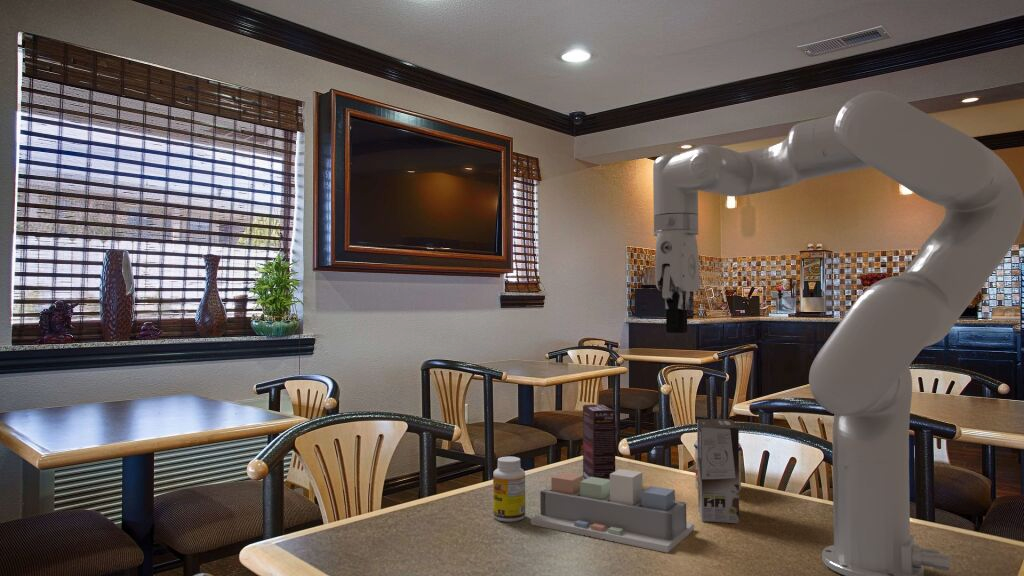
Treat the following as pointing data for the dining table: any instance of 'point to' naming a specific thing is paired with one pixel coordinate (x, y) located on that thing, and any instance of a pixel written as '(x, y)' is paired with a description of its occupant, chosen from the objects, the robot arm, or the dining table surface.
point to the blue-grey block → (658, 498)
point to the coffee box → (718, 470)
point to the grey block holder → (614, 520)
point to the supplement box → (598, 441)
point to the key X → (626, 487)
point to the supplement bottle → (509, 490)
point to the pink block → (566, 483)
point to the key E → (595, 488)
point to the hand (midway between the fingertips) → (676, 332)
